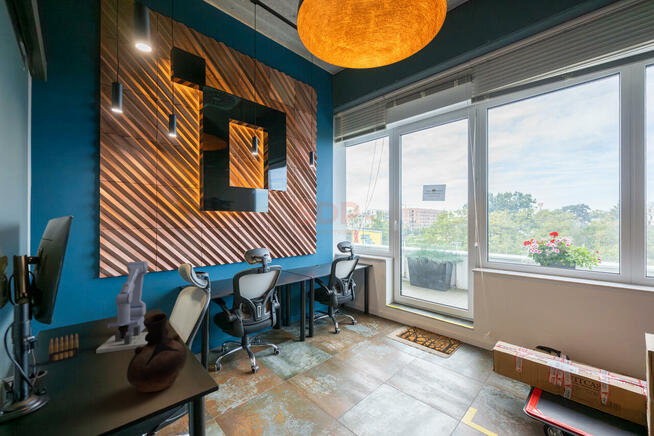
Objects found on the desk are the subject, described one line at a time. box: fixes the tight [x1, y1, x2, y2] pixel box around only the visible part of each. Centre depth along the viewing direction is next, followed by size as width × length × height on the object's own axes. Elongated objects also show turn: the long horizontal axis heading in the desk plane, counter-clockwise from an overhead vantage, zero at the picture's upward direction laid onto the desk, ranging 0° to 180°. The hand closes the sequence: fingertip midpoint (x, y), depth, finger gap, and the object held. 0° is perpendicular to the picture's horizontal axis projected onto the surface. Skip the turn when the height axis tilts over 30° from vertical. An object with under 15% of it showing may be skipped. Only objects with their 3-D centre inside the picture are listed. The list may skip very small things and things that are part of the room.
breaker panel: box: [95, 331, 148, 354], centre depth 148 cm, size 18×22×2 cm
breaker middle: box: [114, 330, 122, 341], centre depth 147 cm, size 3×2×4 cm
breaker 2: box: [134, 326, 140, 335], centre depth 154 cm, size 3×2×4 cm
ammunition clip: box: [47, 333, 79, 365], centre depth 130 cm, size 11×2×12 cm, turn 135°
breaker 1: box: [124, 334, 132, 344], centre depth 143 cm, size 3×2×4 cm
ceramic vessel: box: [126, 312, 188, 393], centre depth 108 cm, size 21×18×30 cm
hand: (123, 338), depth 147 cm, fingers closed
